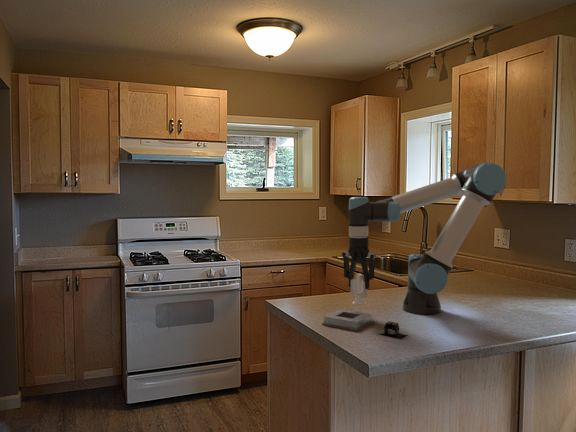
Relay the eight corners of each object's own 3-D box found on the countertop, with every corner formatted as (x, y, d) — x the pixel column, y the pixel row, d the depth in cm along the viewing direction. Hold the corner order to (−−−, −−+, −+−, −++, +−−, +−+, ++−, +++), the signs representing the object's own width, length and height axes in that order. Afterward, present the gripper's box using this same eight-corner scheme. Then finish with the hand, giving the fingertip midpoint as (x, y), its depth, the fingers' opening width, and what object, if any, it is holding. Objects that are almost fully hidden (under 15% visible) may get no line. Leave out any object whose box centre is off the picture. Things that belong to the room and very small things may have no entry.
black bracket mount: (370, 335, 171) (370, 322, 171) (379, 330, 177) (379, 317, 177) (404, 342, 164) (405, 328, 164) (413, 336, 170) (413, 323, 170)
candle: (367, 302, 195) (367, 272, 194) (363, 305, 190) (363, 274, 189) (354, 301, 197) (354, 271, 197) (350, 304, 192) (350, 273, 192)
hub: (373, 322, 185) (373, 314, 185) (357, 331, 173) (357, 322, 173) (339, 316, 193) (339, 308, 192) (322, 324, 181) (322, 316, 181)
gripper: (383, 236, 191) (383, 297, 192) (342, 235, 200) (343, 292, 202) (375, 238, 184) (376, 300, 186) (334, 236, 194) (334, 295, 195)
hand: (359, 296), depth 194 cm, fingers closed on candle, 4 cm apart
